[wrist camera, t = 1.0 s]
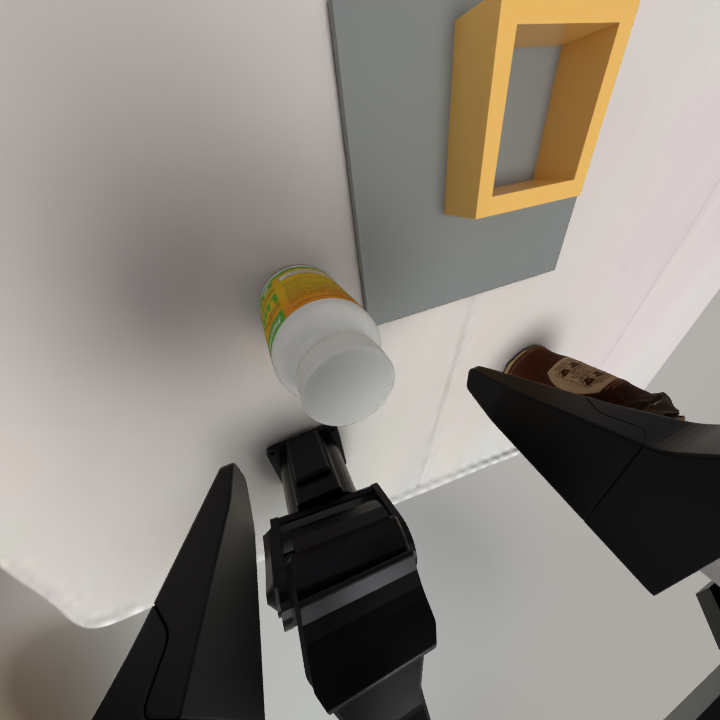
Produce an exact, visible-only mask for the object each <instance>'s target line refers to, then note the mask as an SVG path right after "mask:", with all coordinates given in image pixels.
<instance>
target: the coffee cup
mask: <svg viewBox="0 0 720 720" xmlns="http://www.w3.org/2000/svg"><path fill="white" fill-rule="evenodd" d="M504 373H506V374H510V375H513V376H517V377H520V378H524V379H527V380H530V381H534V382H537V383H541V384H544V385H548V386H551V387H555V388H558V389H562V390H565V391H569V392H572V393H576V394H579V395H583V396H584V397H585V396H587V397H590V398H593V399H597V400H601V401H604V402H608V403H612V404H615V405H619V406H623V407H627V408H632V409H636V410H640V411H644V412H649V413H653V414H657V415H661V416H666V417H670V418H674V419H679V420H683V421H684V420H685V417H684V416H679V410H678V409H676V408H675V407H674V406H673V404H672V401H671V399H670V397H669V396H668V395H667V394H666V393H664V392H661V393H655V394H651V393H649V392H647V391H644V390H642V389H640V388H638V387H636V386H634V385H632V384H631V383H629V382H628V381H626V380H623V379H620V378H618V377H616V376H613V375H611V374H609V373H606V372H604V371H602V370H599V369H597V368H595V367H592V366H589V365H587V364H585V363H583V362H580V361H578V360H575V359H573V358H570V357H567V356H563V355H559V354H556V353H553V352H551V351H549V350H548V349H546V348H545V347H542V346H539V345H536V346H533V347H530V348H528V349H526V350H525V351H523V352H522V353H520V354H519V355H517V356H516V357H515V358H514V359H513V360H512V361H511V362H510V363H509V364H508V366H507V368H506V370H505V372H504Z"/></svg>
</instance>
